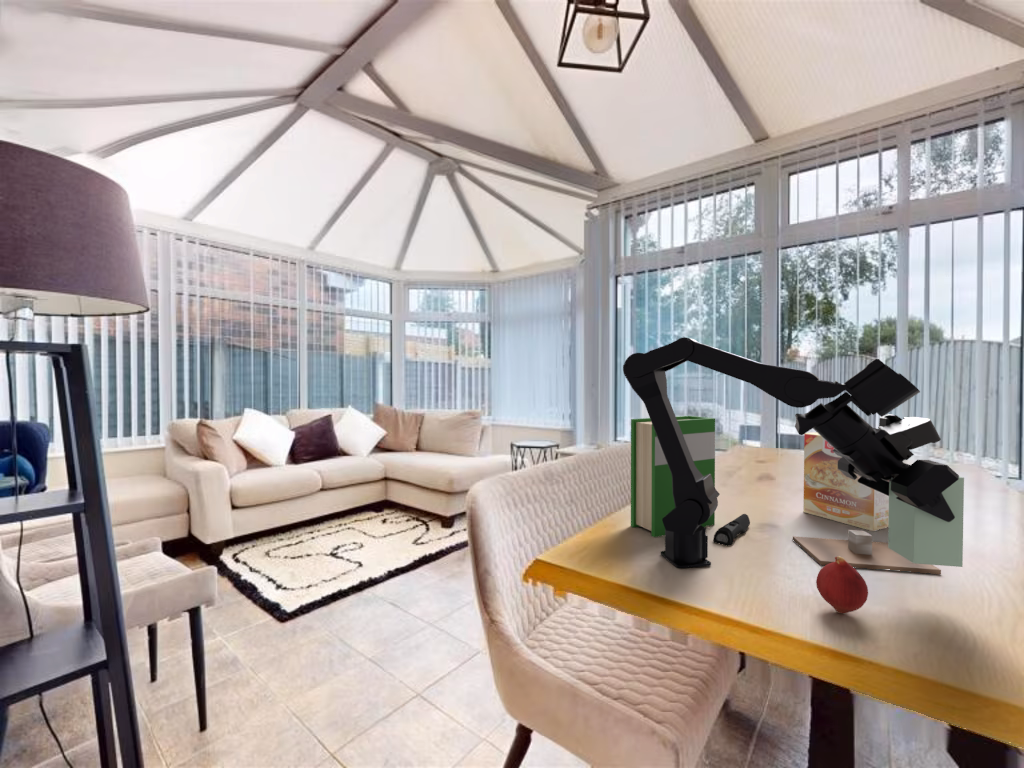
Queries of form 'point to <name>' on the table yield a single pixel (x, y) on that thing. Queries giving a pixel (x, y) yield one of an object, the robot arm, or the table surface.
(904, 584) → the table surface
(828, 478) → the coffeecake box
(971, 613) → the table surface
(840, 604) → the onion
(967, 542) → the table surface
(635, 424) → the hardback book
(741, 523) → the electric trimmer
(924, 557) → the mint green prism
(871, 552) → the brown board
